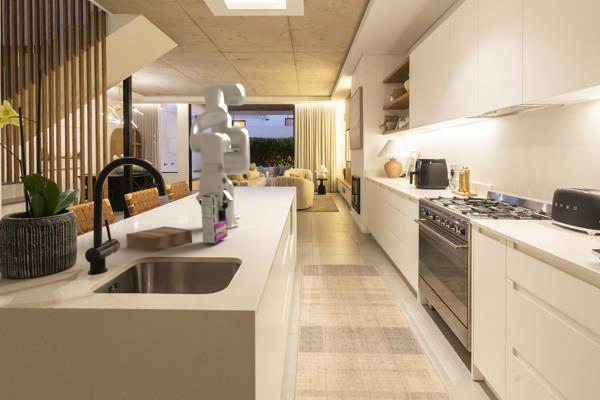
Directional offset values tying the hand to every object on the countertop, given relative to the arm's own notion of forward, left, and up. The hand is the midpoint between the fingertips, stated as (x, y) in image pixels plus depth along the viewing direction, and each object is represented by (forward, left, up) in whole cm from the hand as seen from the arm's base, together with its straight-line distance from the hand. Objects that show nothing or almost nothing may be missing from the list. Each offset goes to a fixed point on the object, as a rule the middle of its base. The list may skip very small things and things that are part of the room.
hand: (214, 219), depth 144 cm
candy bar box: (0, 0, -7) cm, 7 cm away
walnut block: (+11, -15, -8) cm, 20 cm away
